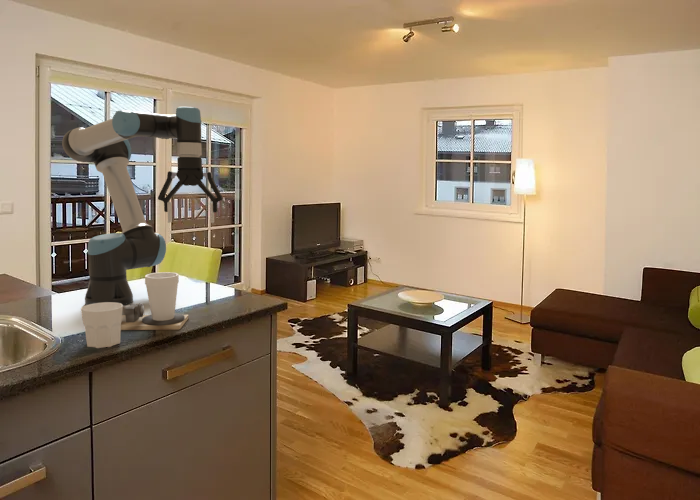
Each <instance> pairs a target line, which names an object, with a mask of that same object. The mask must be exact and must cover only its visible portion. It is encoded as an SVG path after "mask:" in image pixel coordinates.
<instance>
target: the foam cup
mask: <svg viewBox="0 0 700 500" xmlns="http://www.w3.org/2000/svg"><path fill="white" fill-rule="evenodd" d="M179 275H180V274H179V273H177V272H169V271H167V272H166V271H163V272H151V273H147V274H145V275H144V284H145V286H146V287H145V288H146V293H147V298H148V303H149V309H150V310H149V311H150V315H151V316H152V319H153V320H157V321H164V320H170V319H173V318H174V315H175V313H176V305H177V295H178V286H179V285H178V284H179V280H180V279H179V278H180V277H179Z"/></svg>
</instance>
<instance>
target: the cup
mask: <svg viewBox="0 0 700 500" xmlns="http://www.w3.org/2000/svg"><path fill="white" fill-rule="evenodd" d="M123 306H124V305H122V304H121V303H115V302H103V303H94V304H89V305H83V306H81V308H80V312H81V317H82V321H83V327H84V331H85V339H86V347H87V348H96V349H100V348H101V349H102V348H106V347H107V348H111V347H112V346H115V345H118V344H121V333H122V330H121V321H122V309H123Z"/></svg>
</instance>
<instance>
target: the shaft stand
mask: <svg viewBox="0 0 700 500" xmlns="http://www.w3.org/2000/svg"><path fill="white" fill-rule="evenodd" d="M144 313H145V305H144V304H143V303H138V304H136V303H134V304H131V303H129V305H123V309H122V321H121V331H135V330H136V331H140V330H142V331H144V330H145V331H151V330H158V331H159V330H162V331H163V330H173V331H174V330H181V329H182V327H183V326H184V325H185V323H187V321H188V319H189V314H181V313H177V312H175V315H174V318H173V319H170V320H164V321H157V320H153V319H152V316H151V314H144Z"/></svg>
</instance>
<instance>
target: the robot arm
mask: <svg viewBox="0 0 700 500" xmlns="http://www.w3.org/2000/svg"><path fill="white" fill-rule="evenodd" d="M201 117H202V116H201V110H200V109H199V108H198V107H195V106H178V107H176V109H175V114H161V113H154V112H153V113H152V112H142V111H135V110H129V109H128V110H127V109H126V110H117V111H116V112H115V113H114V114H113V116H112V118H111V119H108V120H104V121H102V122H99V123H96V124H92V125H90V126H88V127H85V128H84V127H76V128H73V129H70V130H68V131H67V132H66V133H65V134H64V135H63V138H62V141H61V144H62V148H63V150H64V152H65V154H66V155H67V156H68V157H69V158H70V159H71V160H73V161H77V162H79V163H80V162H81V163H91V164H92V163H93V164H94V166H95V169H96V171H97V172H99V173H101V174H102V175H103V179H104V181H105V184H106V187H107V190H108V192H109V195H110V198H111V201H112V204H113V207H114V210H115V213H116V216H117V219H118V222H119V224H120V226H121V230H122V231H121V232H114V233H105V234H100V235H99V234H98V235H95V236H92V237H91V238H90V239H89V240H88V243H87V258H88V261H87V262H88V275H89V282H88V286H87V290H86V293H85V296H84V304H85V305H89V304H94V303H103V302H115V303H121V304H122V305H123V306H127V305H128V304H129V305H130V304H131V303H133V301H134V295H133V292H132V289H131V287H130V285H129V282H128V280H127V279H128V278H127V277H128V276H127V270H135V269H142V268H151V267H153V266H157V265H160V264H161V263H162V262H163V260H164V258H165V257H166V253H167V245H166V240H165V238H164V236H163V235H162V234H160V233H157V232H155V230H154V227H153V226H152V225H150V224H148V223H147V221H146V218H145V215H144V212H143V210H142V206H141V204H140V202H139V199H138V196H137V193H136V190H135V188H134V184H133V182H132V178H131V176H130V174H129V173H130V172H129V170H128V165H129V163H130V160H131V157H132V152H131V151H132V146H131V144H130V141H129V140H130V139H134V138H137V137H144V138H158V139H162V140H165V139H166V140H169V139H176V145H177V146H176V148H177V149H176V153H177V156H178V157H177V171H176V172H174V171H167V176H166V179H165V181H164V182H165V183H164V184H163V186H162V189H161V191H160V192H159V195H158V196H157V200H158V201H162V202H163V207H164V212H165V213H167V223H169V224H170V223H172V222H173V205H172V203H173V202H172V201H170V200H171V199H172V198H173V197H174V195H175V194H176V193H177V192H178V191H179V190H180V188H181V187H183V186H186V187H187V186H192V187H195V186H198V187H199V189H201V190H202V191H203V193H204V194H205V195H206V196H207V197H208V198H209V199H210V200H211V202H210V203H209V205H210V207H209V208H210V224H213V223H215V213H217V212H218V203H219V202H221V201H223V200H224V198H223V195H222V194H221V191H220V190H219V188H218V186H217V184H216V182H215V179H214V177H213V173H212V172H211V171H208V172H203V158H202V157H201V156H203V154H202V118H201ZM176 177H177V178H178V181H177V183H175V185H174V187H173V188H171V190H170V191H169V193H168V194H167V192H168V190H169V188H170V186H171V184H172V181H173V179H175V178H176ZM203 178H205V179H206V180H208V182H209V185H210V186H211V189H212V191H213V192H214V193H212V191H210V190H209V188H208V187H207V186H206V184H205V183H204V182H203V181H202V179H203ZM166 194H167V195H166ZM214 194H215V195H214ZM85 305H84V306H85Z"/></svg>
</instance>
